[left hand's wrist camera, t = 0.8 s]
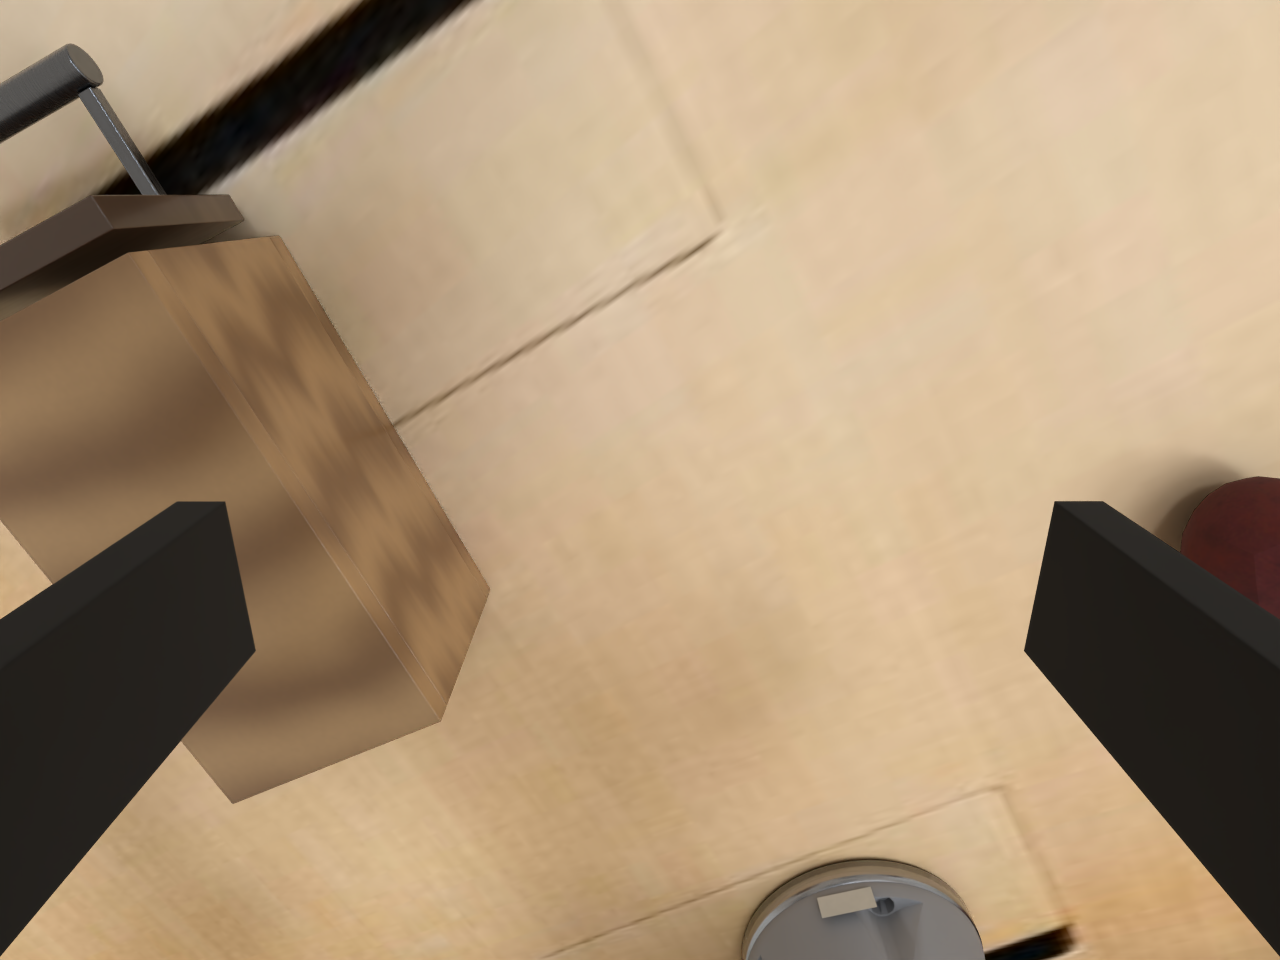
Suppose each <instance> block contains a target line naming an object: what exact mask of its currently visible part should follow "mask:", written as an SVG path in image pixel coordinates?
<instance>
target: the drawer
mask: <svg viewBox="0 0 1280 960" xmlns="http://www.w3.org/2000/svg"><path fill="white" fill-rule="evenodd" d="M102 83H103V76H102V73H101V71H100V69H99V67H98V66H97V64H96V63H95V62H94V60H93V59H92V58H91V57H90V56H89V55H88V54H87V53H86V52H85V51H84V50H82V49H81V48H80V47H78V46H76V45H74V44H66V45H65V46H63V47H61V48H60V49H58V50H56V51H55V52H53V53H51V54H50V55H48V56H46V57H44V58H43V59H41V60H39V61H38V62H36V63H34V64H33V65H31V66H29V67H28V68H26V69H24V70H23V71H21V72H19V73H18V74H16V75H14V76H13V77H11V78H9V79H7V80H6V81H4V82H2V83H1V84H0V143H2V142H4V141H6V140H7V139H9V138H11V137H12V136H14V135H16V134H18V133H19V132H21V131H23V130H25V129H26V128H28V127H30V126H31V125H33V124H35V123H37V122H38V121H40V120H42V119H43V118H45V117H47V116H49V115H50V114H52V113H54V112H56V111H57V110H59V109H61V108H62V107H64V106H66V105H68V104H69V103H71V102H73V101H75V100H76V99H78V98H80V99H81V100H82V102H83V103H84V105H85V107H86V108H87V110H88V111H89V113H90V114H91V116H92V117H93V119H94V121H95V122H96V124H97V125H98V127H99V128H100V130H101V131H102V133H103V135H104V136H105V138H106V139H107V141H108V142H109V144H110V145H111V147H112V149H113V150H114V152H115V153H116V155H117V156H118V158H119V159H120V161H121V162H122V164H123V166H124V167H125V169H126V170H127V172H128V173H129V175H130V176H131V178H132V180H133V181H134V183H135V184H136V186H137V187H138V189H139V190H140V192H141V194H142V195H90V196H88V197H86V198H85V199H83V200H81V201H79V202H77V203H76V204H74V205H72V206H70V207H68V208H67V209H65V210H63V211H61V212H59V213H58V214H56V215H54V216H52V217H50V218H49V219H47V220H45V221H43V222H41V223H40V224H38V225H36V226H34V227H32V228H31V229H29V230H27V231H25V232H23V233H22V234H20V235H18V236H16V237H14V238H13V239H11V240H9V241H7V242H5V243H4V244H2V245H0V321H1V320H3V319H5V318H7V317H9V316H11V315H13V314H14V313H16V312H18V311H20V310H22V309H24V308H26V307H28V306H29V305H31V304H33V303H35V302H37V301H39V300H41V299H42V298H44V297H46V296H48V295H50V294H52V293H54V292H55V291H57V290H59V289H61V288H63V287H65V286H67V285H68V284H70V283H72V282H74V281H76V280H78V279H80V278H81V277H83V276H85V275H87V274H89V273H91V272H93V271H95V270H96V269H98V268H100V267H102V266H104V265H106V264H108V263H109V262H111V261H113V260H115V259H117V258H119V257H121V256H122V255H124V254H126V253H129V252H138V251H147V250H155V249H164V248H172V247H181V246H190V245H198V244H201V243H203V242H205V241H207V240H209V239H210V238H212V237H214V236H216V235H218V234H220V233H222V232H224V231H226V230H227V229H229V228H231V227H233V226H235V225H237V224H239V223H241V222H242V221H244V219H243V217H242V215H241V214H240V212H239V210H238V209H237V207H236V205H235V204H234V202H233V200H232V199H231V197H230V196H229V195H167V194H166V193H165V191H164V190H163V188H162V186H161V185H160V183H159V182H158V180H157V179H156V177H155V175H154V174H153V172H152V171H151V169H150V167H149V166H148V164H147V163H146V161H145V160H144V158H143V156H142V155H141V153H140V152H139V150H138V149H137V147H136V145H135V144H134V142H133V141H132V139H131V137H130V136H129V134H128V133H127V131H126V130H125V128H124V126H123V125H122V123H121V122H120V120H119V119H118V117H117V115H116V114H115V112H114V111H113V109H112V108H111V106H110V104H109V103H108V101H107V100H106V98H105V96H104V95H103V93H102V92H101V90H100V89H98V88H97V87H99V86H100V85H102Z"/></svg>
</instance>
